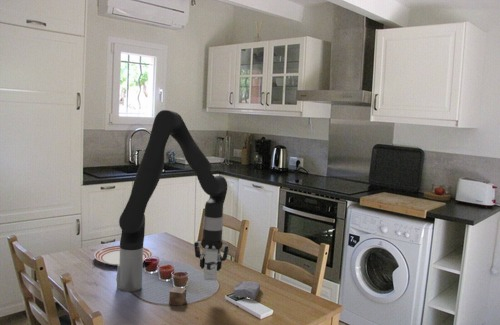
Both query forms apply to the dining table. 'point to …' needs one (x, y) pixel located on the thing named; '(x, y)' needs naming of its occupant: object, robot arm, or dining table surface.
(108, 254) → the dinner plate
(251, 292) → the stone block
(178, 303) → the walnut block
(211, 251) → the ink box
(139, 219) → the robot arm
